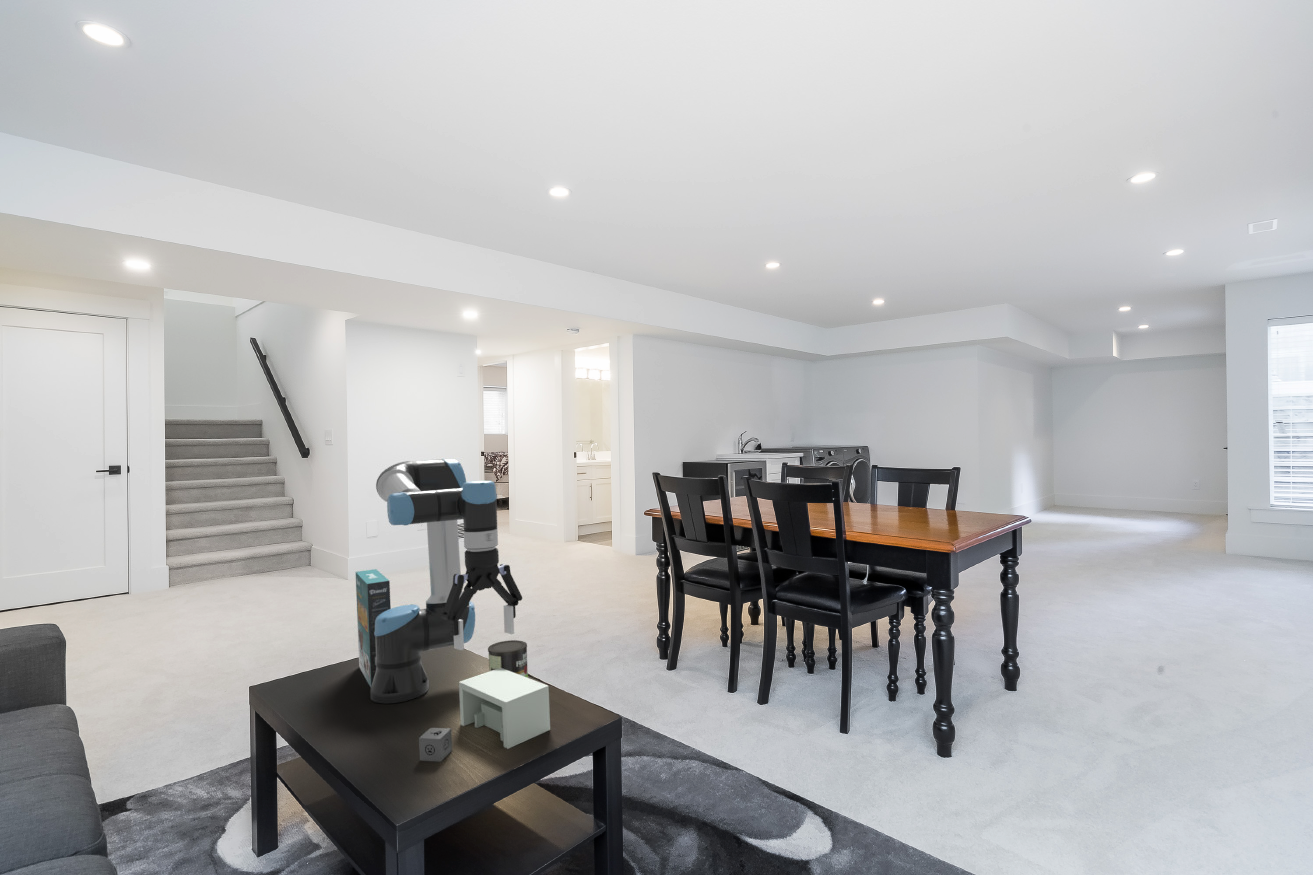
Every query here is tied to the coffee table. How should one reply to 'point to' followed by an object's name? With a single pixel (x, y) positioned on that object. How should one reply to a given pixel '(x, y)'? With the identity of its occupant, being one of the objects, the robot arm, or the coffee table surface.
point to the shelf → (505, 705)
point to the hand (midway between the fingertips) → (485, 640)
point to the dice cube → (435, 744)
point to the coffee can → (509, 656)
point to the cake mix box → (370, 616)
